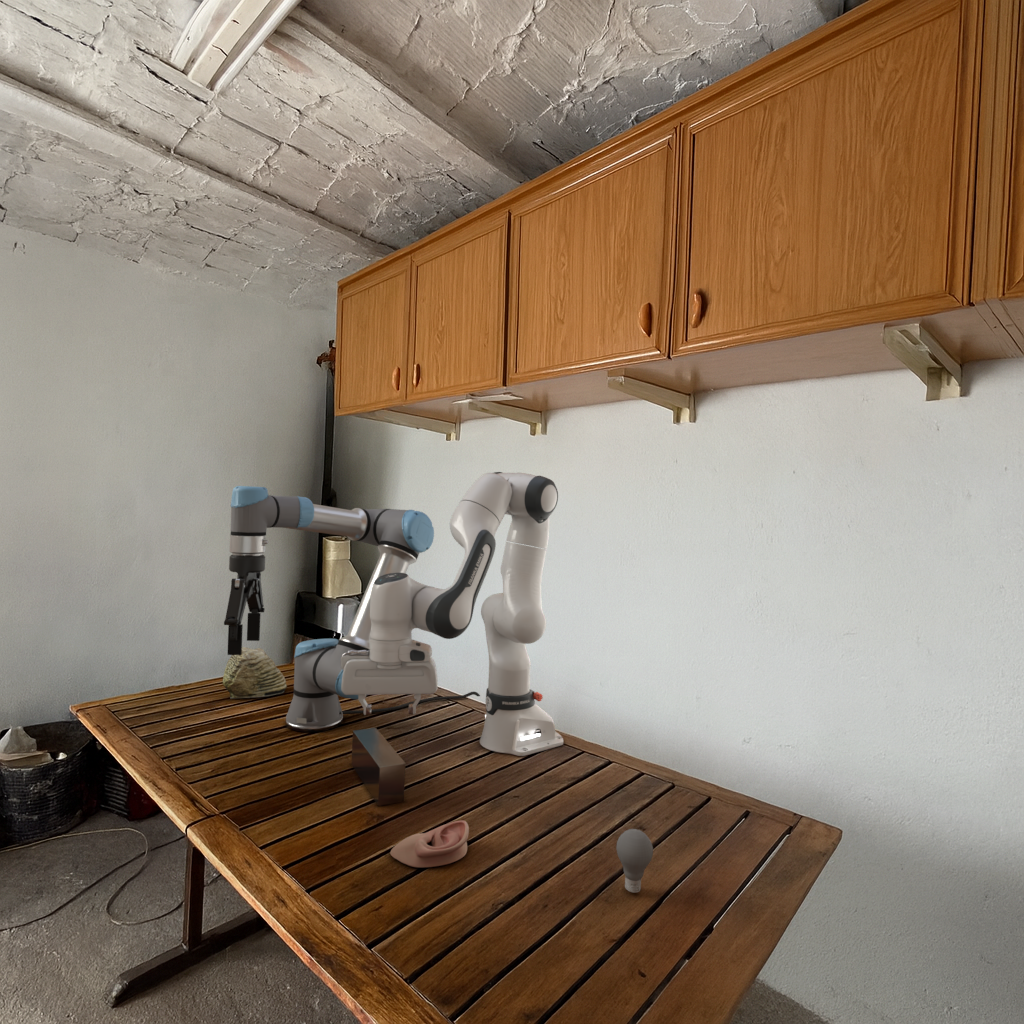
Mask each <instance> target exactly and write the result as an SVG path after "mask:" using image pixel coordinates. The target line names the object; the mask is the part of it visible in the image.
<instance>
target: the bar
mask: <svg viewBox="0 0 1024 1024" xmlns="http://www.w3.org/2000/svg"><path fill="white" fill-rule="evenodd" d="M351 741H352V742H351V767H352V768H353V769H354V771H355V772H356V774H357V776H358V777H359V779H360V780H361V781H362V783H363V785H364V786H365V788H366V789H367V792H368V793H369V794H370V795H371V798H372V799H373V801H374V802H375V803H376V805H377V806H378V807H382V806H387V805H392V804H398V803H402V802H405V786H406V762H405V761H404V760H403V758H402V757H401V756H400V755H399V754H398V753H397V751H396V750H395V749H394V748H393V746H391V744H390V742H388V740H387V739H386V738H385V737H384V736H383V734H382V733H381V732H380V731H379V730H378V729H377V727H370V728H363V729H355V730H352V739H351Z"/></svg>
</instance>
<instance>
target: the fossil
mask: <svg viewBox="0 0 1024 1024" xmlns="http://www.w3.org/2000/svg"><path fill="white" fill-rule="evenodd" d="M222 676H223V677H222V685H223V687H224V688H225V690H226V691H228V693H229V698H230V699H250V698H264V697H271V696H275V695H281V694H284V693H285V691H286V689H287V687H288V686H287V680H286V678H285V676H284V674H283V673H282V672H281V669H279V668H278V667H277V665H276V663H275V662H274V660H273V659H272V658H271V657H270V656H269V655H268V654H267V653H266V652H265V650H264V649H263V648H260V647H258V648H251V647H247V646H246V647H245V646H242V654H241V655H230V657H229V659H228V660H227V663H226V666H225V668H224V671H223V675H222Z"/></svg>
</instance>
